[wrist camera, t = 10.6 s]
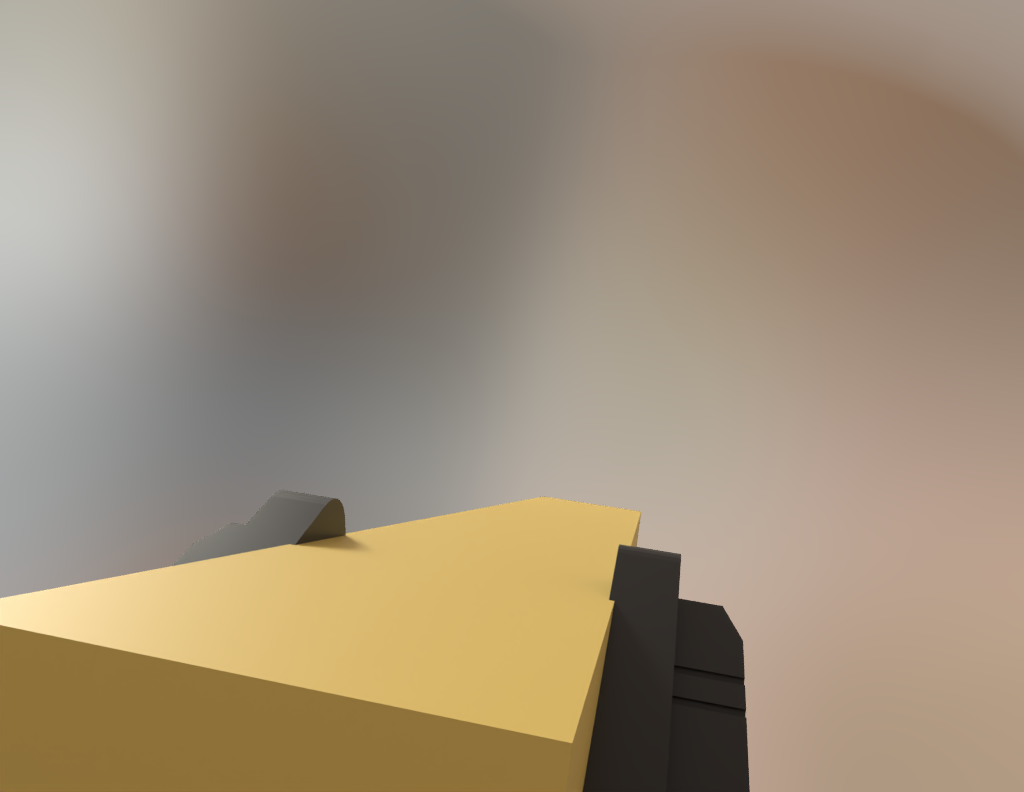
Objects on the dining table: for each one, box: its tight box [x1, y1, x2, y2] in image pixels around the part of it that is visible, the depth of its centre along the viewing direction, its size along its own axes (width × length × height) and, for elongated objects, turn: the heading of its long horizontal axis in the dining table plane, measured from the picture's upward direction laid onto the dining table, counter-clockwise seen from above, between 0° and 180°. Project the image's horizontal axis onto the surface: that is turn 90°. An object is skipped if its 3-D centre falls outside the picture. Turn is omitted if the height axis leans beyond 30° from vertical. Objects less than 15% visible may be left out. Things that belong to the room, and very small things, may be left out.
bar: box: [0, 497, 641, 792], centre depth 17 cm, size 4×26×4 cm, turn 170°
